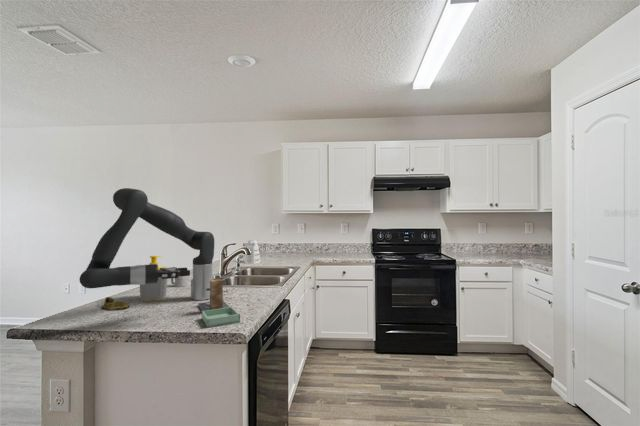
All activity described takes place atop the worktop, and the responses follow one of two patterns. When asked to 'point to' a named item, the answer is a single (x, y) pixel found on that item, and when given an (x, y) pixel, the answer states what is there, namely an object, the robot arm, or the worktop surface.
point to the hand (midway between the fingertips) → (188, 271)
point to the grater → (253, 254)
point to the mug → (180, 281)
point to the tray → (220, 316)
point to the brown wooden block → (216, 294)
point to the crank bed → (207, 305)
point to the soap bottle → (154, 287)
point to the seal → (114, 305)
